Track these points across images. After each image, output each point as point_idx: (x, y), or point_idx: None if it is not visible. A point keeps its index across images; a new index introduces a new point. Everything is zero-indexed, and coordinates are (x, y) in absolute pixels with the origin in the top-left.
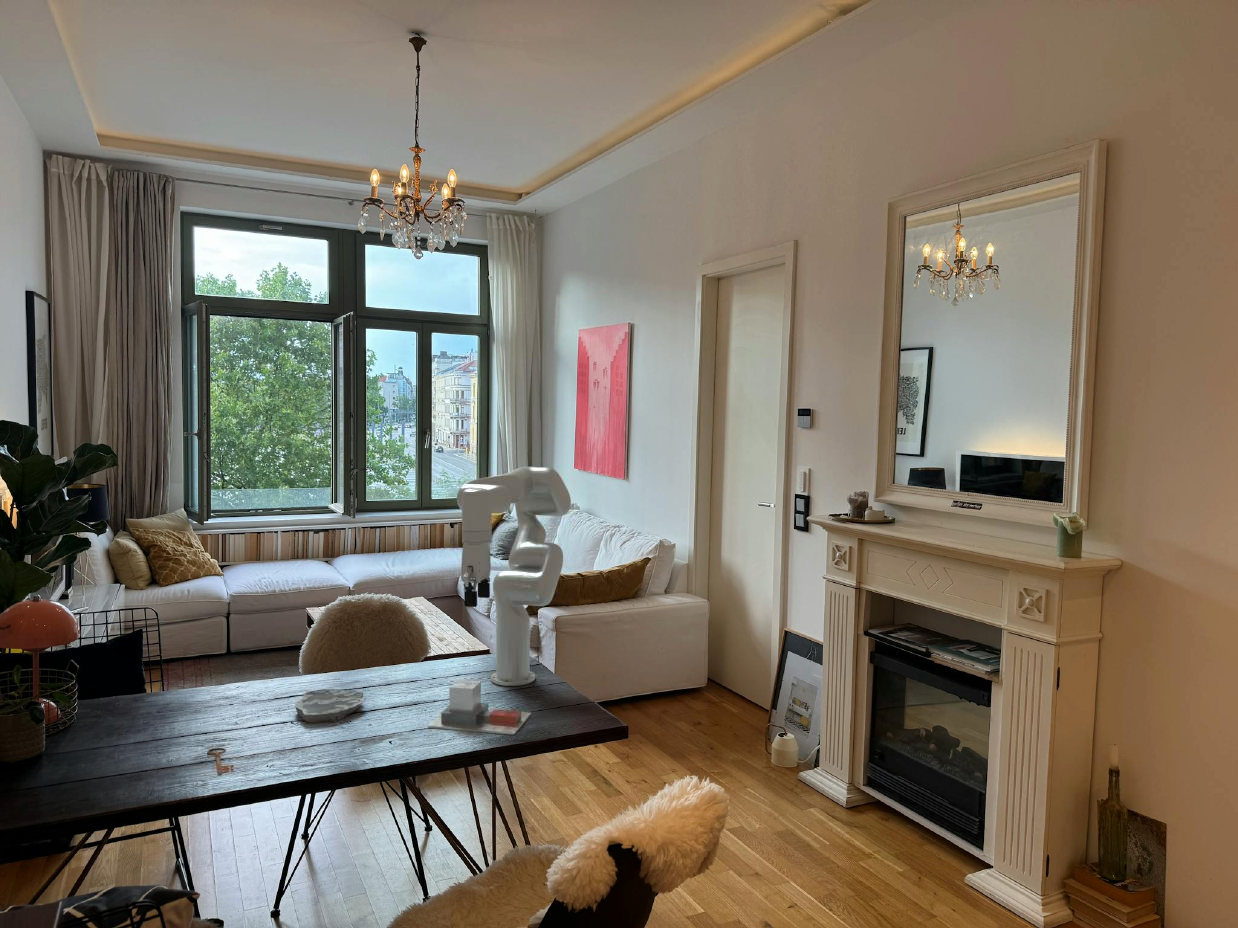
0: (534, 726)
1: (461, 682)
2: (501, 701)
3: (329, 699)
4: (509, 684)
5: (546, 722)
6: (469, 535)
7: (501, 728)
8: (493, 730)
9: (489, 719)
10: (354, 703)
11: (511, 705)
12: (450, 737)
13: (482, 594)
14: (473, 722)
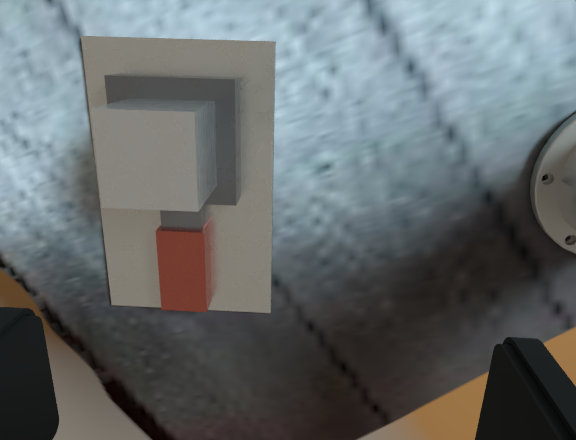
0: (185, 336)
1: (163, 138)
2: (370, 200)
3: None
4: (531, 188)
5: (221, 358)
6: None
7: (130, 266)
8: (109, 249)
9: (160, 225)
10: None
11: (337, 240)
12: (37, 140)
13: (498, 421)
14: None
